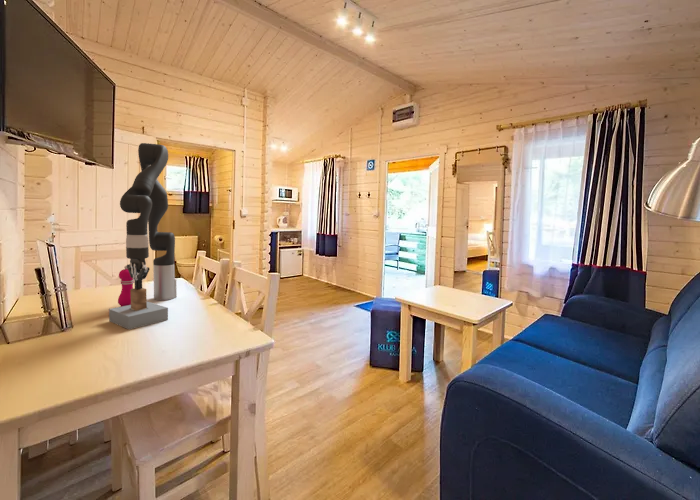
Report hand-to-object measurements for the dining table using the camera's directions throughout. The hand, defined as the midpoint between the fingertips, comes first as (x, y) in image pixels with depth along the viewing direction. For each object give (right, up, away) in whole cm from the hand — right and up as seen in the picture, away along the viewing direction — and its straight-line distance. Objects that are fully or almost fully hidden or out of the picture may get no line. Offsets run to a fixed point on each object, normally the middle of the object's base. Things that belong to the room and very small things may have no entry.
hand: (138, 289), depth 137 cm
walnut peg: (-1, -12, +1) cm, 12 cm away
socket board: (-1, -13, +1) cm, 13 cm away
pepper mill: (-13, -11, +14) cm, 22 cm away
